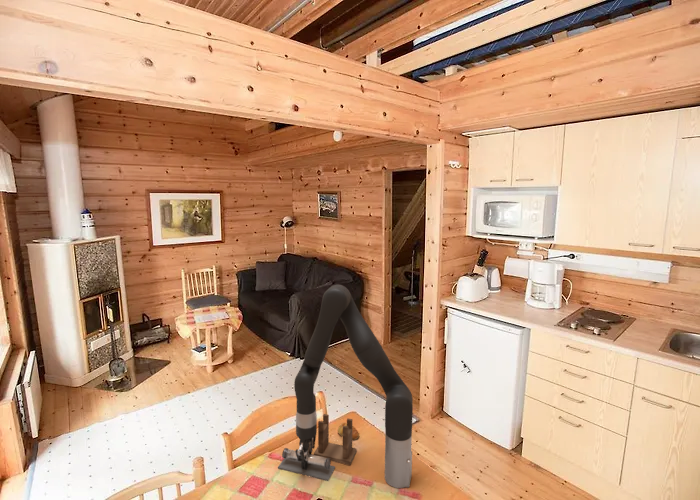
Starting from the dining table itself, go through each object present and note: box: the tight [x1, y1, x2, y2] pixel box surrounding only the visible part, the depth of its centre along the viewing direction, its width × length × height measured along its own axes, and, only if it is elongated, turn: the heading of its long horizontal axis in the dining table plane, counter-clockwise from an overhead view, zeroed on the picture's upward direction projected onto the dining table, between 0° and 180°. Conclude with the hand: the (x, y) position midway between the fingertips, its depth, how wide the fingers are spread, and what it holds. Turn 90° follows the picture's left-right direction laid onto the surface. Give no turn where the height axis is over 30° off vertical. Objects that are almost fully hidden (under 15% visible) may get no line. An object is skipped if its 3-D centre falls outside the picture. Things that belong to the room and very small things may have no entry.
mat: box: [277, 458, 336, 482], centre depth 131 cm, size 20×7×1 cm, turn 72°
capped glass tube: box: [281, 447, 332, 469], centre depth 131 cm, size 18×3×3 cm, turn 72°
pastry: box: [337, 422, 360, 441], centre depth 151 cm, size 9×7×4 cm
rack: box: [313, 413, 358, 466], centre depth 138 cm, size 15×8×14 cm, turn 72°
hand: (306, 465), depth 131 cm, fingers closed on capped glass tube, 3 cm apart
